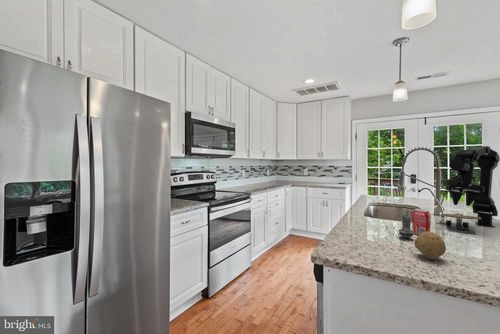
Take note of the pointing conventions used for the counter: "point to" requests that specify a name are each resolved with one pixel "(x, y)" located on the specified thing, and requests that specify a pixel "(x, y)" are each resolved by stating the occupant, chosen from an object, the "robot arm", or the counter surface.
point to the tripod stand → (459, 226)
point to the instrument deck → (460, 216)
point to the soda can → (421, 221)
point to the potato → (430, 245)
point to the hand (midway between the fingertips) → (461, 205)
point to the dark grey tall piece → (406, 229)
